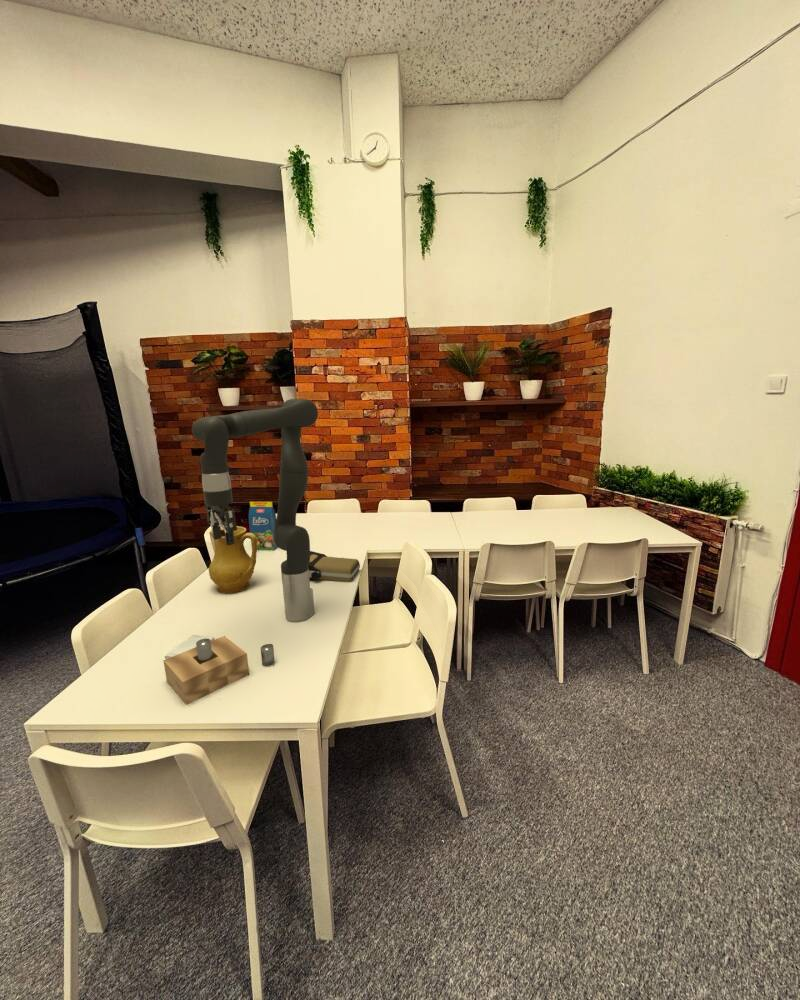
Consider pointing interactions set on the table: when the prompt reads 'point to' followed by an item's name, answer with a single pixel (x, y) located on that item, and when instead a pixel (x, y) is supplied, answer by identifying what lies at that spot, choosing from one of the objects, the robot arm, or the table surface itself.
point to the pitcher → (233, 562)
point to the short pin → (267, 655)
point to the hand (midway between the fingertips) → (223, 541)
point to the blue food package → (263, 524)
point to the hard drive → (187, 645)
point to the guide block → (206, 670)
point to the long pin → (204, 650)
